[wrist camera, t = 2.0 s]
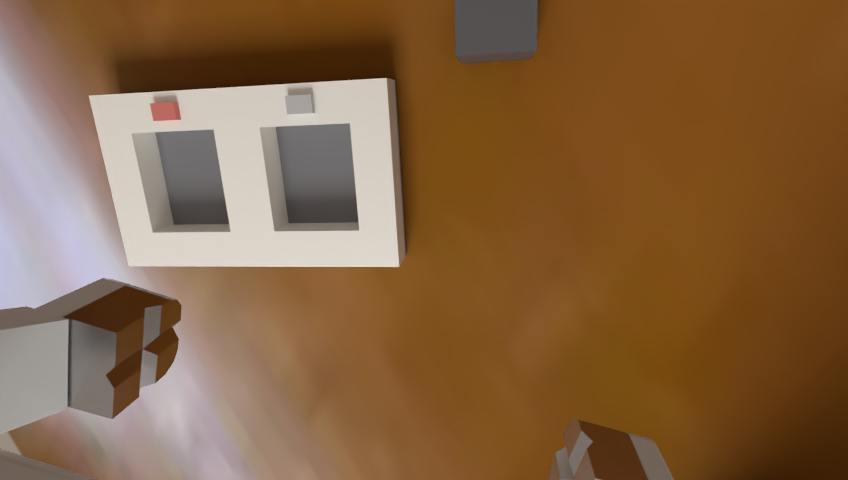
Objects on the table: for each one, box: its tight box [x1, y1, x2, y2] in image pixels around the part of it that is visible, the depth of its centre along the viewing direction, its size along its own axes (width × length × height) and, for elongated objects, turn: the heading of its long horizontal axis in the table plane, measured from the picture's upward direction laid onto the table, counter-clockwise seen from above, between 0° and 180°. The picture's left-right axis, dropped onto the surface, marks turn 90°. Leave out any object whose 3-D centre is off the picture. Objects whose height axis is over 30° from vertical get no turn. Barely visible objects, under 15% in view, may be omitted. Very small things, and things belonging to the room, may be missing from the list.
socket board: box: [89, 78, 406, 267], centre depth 35 cm, size 22×13×4 cm, turn 93°
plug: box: [454, 0, 538, 63], centre depth 28 cm, size 4×6×6 cm
